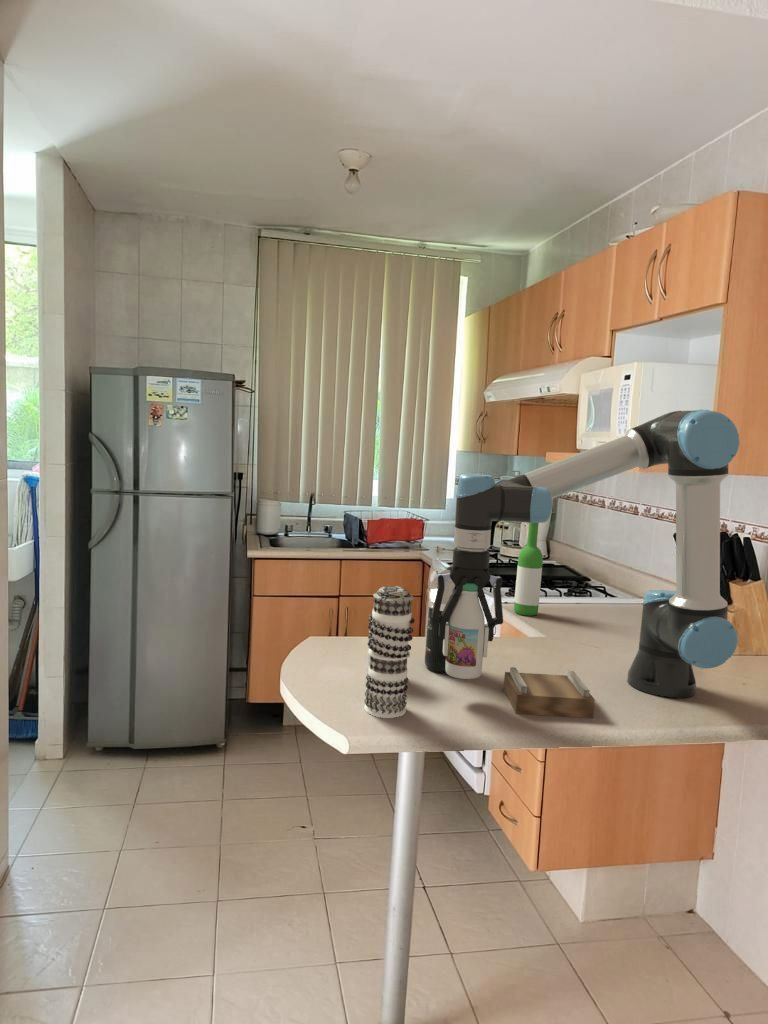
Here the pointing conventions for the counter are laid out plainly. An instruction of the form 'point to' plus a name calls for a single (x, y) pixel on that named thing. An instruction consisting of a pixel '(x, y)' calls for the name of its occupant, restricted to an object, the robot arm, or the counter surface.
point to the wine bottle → (529, 575)
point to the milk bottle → (466, 636)
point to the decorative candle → (389, 652)
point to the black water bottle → (436, 628)
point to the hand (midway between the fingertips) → (464, 654)
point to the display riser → (548, 694)
